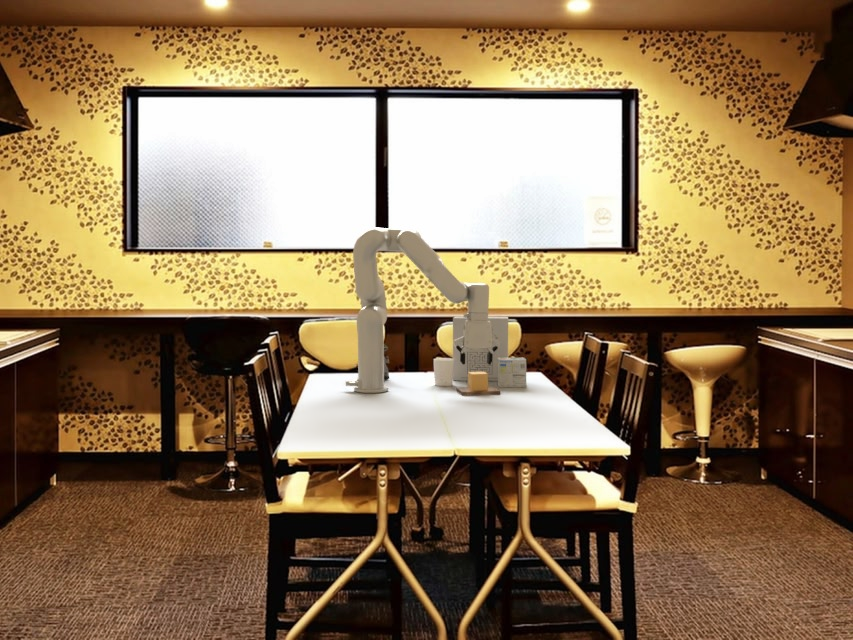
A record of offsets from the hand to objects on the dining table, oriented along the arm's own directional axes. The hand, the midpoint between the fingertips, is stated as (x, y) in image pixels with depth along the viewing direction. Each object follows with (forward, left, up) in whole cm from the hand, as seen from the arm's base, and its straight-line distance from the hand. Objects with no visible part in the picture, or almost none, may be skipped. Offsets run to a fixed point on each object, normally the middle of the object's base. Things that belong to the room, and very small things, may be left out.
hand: (476, 364), depth 336 cm
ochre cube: (+1, 0, -9) cm, 9 cm away
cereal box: (+9, +30, -11) cm, 33 cm away
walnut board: (+1, 0, -10) cm, 10 cm away
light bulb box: (+17, +12, -11) cm, 23 cm away
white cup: (-8, +19, -11) cm, 24 cm away
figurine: (-33, +37, -11) cm, 51 cm away
